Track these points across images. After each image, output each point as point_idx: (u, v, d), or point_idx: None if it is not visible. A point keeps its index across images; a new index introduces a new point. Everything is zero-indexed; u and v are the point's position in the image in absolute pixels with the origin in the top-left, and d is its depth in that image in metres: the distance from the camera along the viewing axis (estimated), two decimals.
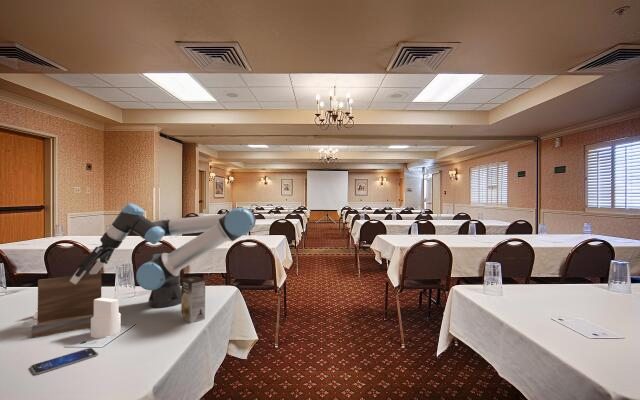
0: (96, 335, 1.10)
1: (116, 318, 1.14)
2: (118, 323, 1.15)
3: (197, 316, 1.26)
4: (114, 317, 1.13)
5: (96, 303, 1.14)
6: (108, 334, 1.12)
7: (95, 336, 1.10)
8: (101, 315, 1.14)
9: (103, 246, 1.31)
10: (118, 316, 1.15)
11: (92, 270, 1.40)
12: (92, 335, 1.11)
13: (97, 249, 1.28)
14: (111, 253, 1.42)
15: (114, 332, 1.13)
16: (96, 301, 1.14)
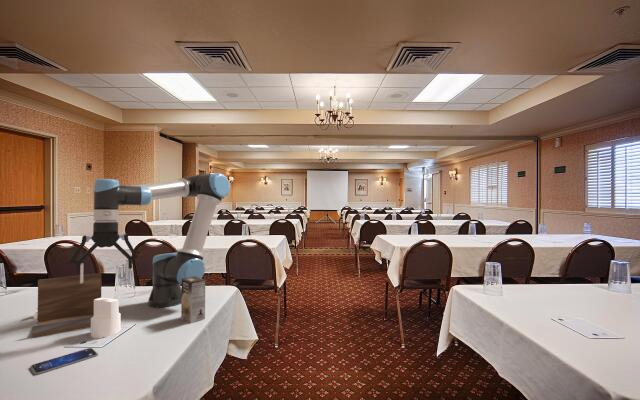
0: (96, 335, 1.10)
1: (116, 318, 1.14)
2: (118, 323, 1.15)
3: (197, 316, 1.26)
4: (114, 317, 1.13)
5: (96, 303, 1.14)
6: (108, 334, 1.12)
7: (95, 336, 1.10)
8: (101, 315, 1.14)
9: (117, 233, 1.18)
10: (118, 316, 1.15)
11: (82, 277, 1.11)
12: (92, 335, 1.11)
13: (127, 235, 1.19)
14: None
15: (114, 332, 1.13)
16: (96, 301, 1.14)
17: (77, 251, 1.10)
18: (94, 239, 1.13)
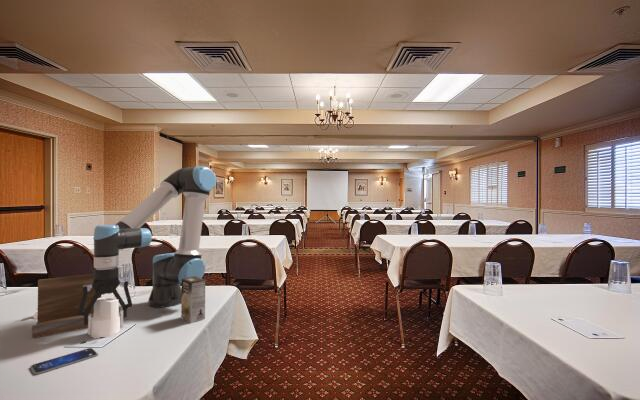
0: (96, 335, 1.10)
1: (116, 318, 1.14)
2: (118, 323, 1.15)
3: (197, 316, 1.26)
4: (114, 317, 1.13)
5: (96, 303, 1.14)
6: (108, 334, 1.12)
7: (95, 336, 1.10)
8: (101, 315, 1.14)
9: None
10: (118, 316, 1.15)
11: (90, 328, 1.12)
12: (92, 335, 1.11)
13: None
14: None
15: (114, 332, 1.13)
16: (96, 301, 1.14)
17: (82, 303, 1.10)
18: (95, 287, 1.12)
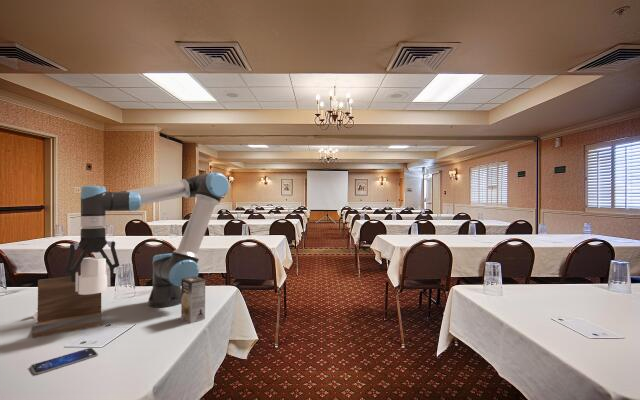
0: (83, 292, 1.13)
1: (103, 276, 1.17)
2: (105, 281, 1.18)
3: (197, 316, 1.26)
4: (102, 275, 1.16)
5: (83, 262, 1.17)
6: (95, 291, 1.14)
7: (82, 292, 1.13)
8: (88, 273, 1.16)
9: None
10: (105, 274, 1.18)
11: None
12: (79, 292, 1.14)
13: (114, 243, 1.22)
14: None
15: (101, 289, 1.16)
16: (83, 260, 1.17)
17: (69, 260, 1.13)
18: (82, 245, 1.15)
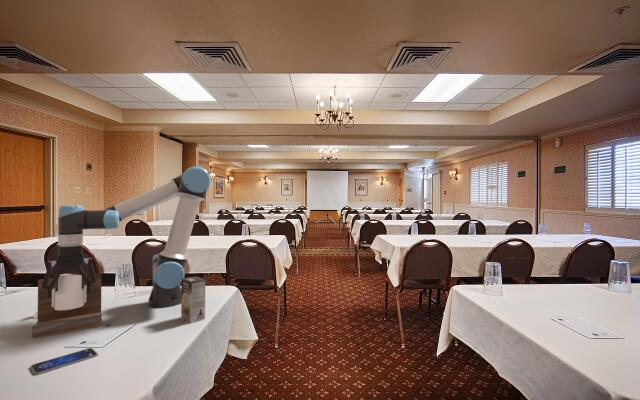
0: (58, 307, 1.18)
1: (79, 292, 1.21)
2: (81, 297, 1.22)
3: (197, 316, 1.26)
4: (77, 291, 1.21)
5: (60, 278, 1.22)
6: (70, 307, 1.19)
7: (58, 308, 1.18)
8: (65, 290, 1.21)
9: None
10: (81, 291, 1.22)
11: (54, 301, 1.19)
12: (55, 307, 1.18)
13: (91, 260, 1.26)
14: None
15: (77, 305, 1.20)
16: (60, 276, 1.22)
17: (46, 277, 1.17)
18: (58, 262, 1.20)
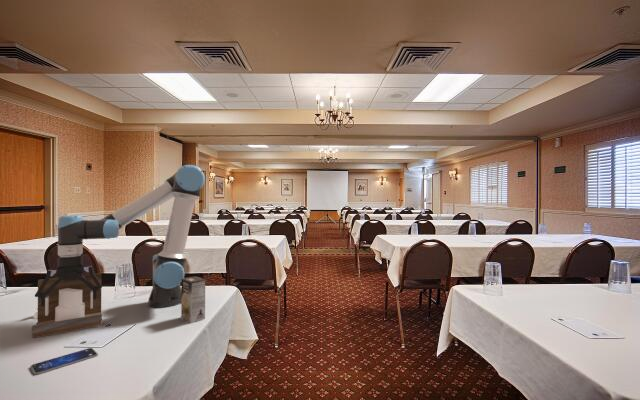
0: None
1: (80, 307, 1.21)
2: (82, 312, 1.22)
3: (197, 316, 1.26)
4: (78, 306, 1.21)
5: (61, 293, 1.22)
6: None
7: None
8: (65, 305, 1.21)
9: (82, 266, 1.25)
10: (82, 305, 1.22)
11: (47, 309, 1.18)
12: None
13: None
14: None
15: None
16: (61, 291, 1.22)
17: (42, 285, 1.17)
18: (58, 273, 1.20)
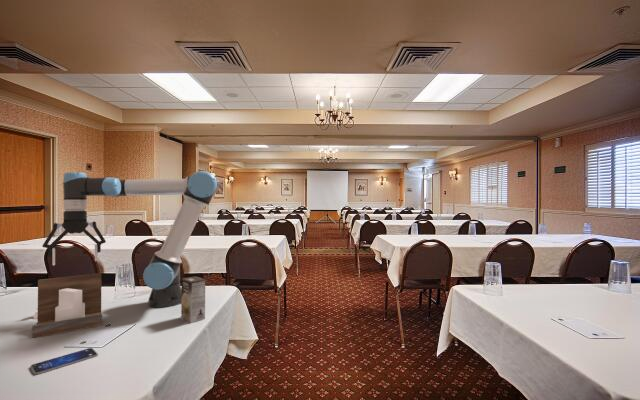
0: None
1: (80, 307, 1.21)
2: (82, 312, 1.22)
3: (197, 316, 1.26)
4: (78, 306, 1.21)
5: (61, 293, 1.22)
6: None
7: None
8: (65, 305, 1.21)
9: (86, 220, 1.32)
10: (82, 305, 1.22)
11: None
12: None
13: (95, 223, 1.33)
14: None
15: None
16: (61, 291, 1.22)
17: (49, 237, 1.23)
18: (64, 226, 1.26)
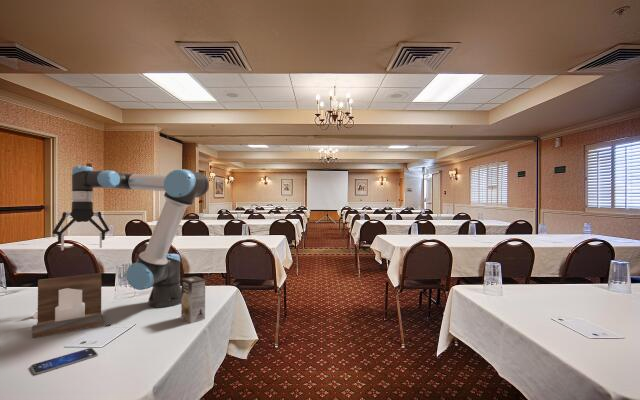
0: None
1: (79, 307, 1.21)
2: (82, 312, 1.22)
3: (197, 316, 1.26)
4: (78, 306, 1.21)
5: (61, 293, 1.22)
6: None
7: None
8: (65, 305, 1.21)
9: (92, 210, 1.44)
10: (82, 305, 1.22)
11: (63, 245, 1.37)
12: None
13: (100, 213, 1.46)
14: None
15: None
16: (61, 291, 1.22)
17: (58, 224, 1.36)
18: (72, 215, 1.39)
